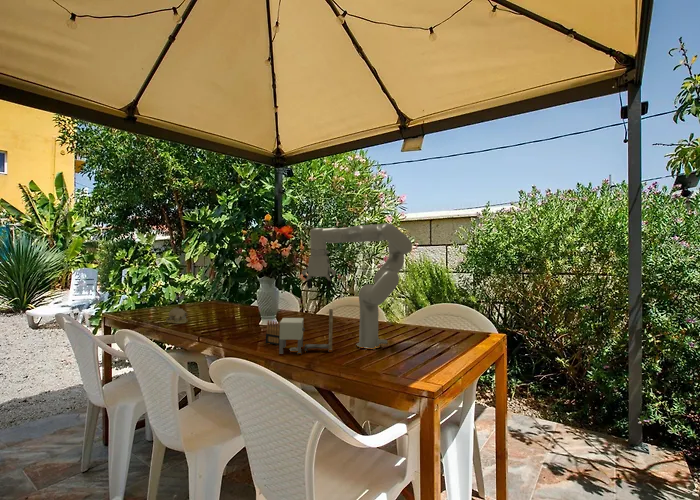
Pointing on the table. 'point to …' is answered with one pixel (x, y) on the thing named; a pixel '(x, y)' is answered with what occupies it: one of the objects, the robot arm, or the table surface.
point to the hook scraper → (329, 336)
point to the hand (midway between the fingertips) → (319, 288)
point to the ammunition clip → (273, 333)
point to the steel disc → (293, 349)
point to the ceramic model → (177, 316)
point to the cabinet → (291, 332)
